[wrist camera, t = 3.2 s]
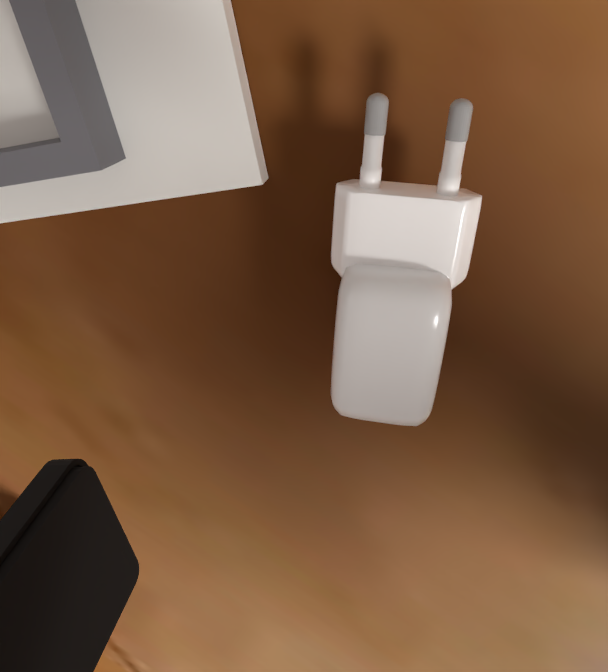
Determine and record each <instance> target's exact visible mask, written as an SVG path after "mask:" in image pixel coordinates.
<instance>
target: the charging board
mask: <svg viewBox="0 0 608 672" xmlns="http://www.w3.org/2000/svg"><path fill="white" fill-rule="evenodd" d="M267 179H268V174H267V169H266V164H265V159H264V155H263V150H262V145H261V141H260V136H259V131H258V126H257V122H256V117H255V112H254V108H253V103H252V98H251V93H250V89H249V84H248V79H247V75H246V70H245V65H244V60H243V56H242V51H241V46H240V42H239V37H238V32H237V27H236V23H235V18H234V13H233V9H232V4H231V0H0V223H6V222H13V221H19V220H26V219H33V218H40V217H47V216H53V215H60V214H67V213H74V212H81V211H87V210H94V209H101V208H108V207H115V206H121V205H128V204H135V203H142V202H149V201H155V200H162V199H169V198H176V197H183V196H189V195H196V194H203V193H210V192H217V191H224V190H230V189H237V188H244V187H251V186H258V185H263V184H264V183H265V182H266V181H267Z"/></svg>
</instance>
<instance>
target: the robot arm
mask: <svg viewBox="0 0 608 672" xmlns="http://www.w3.org/2000/svg"><path fill="white" fill-rule="evenodd" d="M138 575H139V563H138V560H137V558H136V556H135V554H134V552H133V550H132V548H131V545H130V543H129V541H128V539H127V537H126V535H125V533H124V531H123V529H122V527H121V524H120V522H119V520H118V518H117V516H116V514H115V512H114V510H113V508H112V506H111V503H110V501H109V499H108V497H107V495H106V493H105V491H104V489H103V487H102V485H101V482H100V480H99V478H98V476H97V474H96V472H95V470H94V469H93V468H92V467H89V466H88V465H87V463H86V462H85V461H84V460H82V459H59V460H51V461H49V462H47V463H46V464H45V465H44V466H43V468H42V469H41V470H40V471H39V473H38V474H37V475H36V476H35V478H34V479H33V480H32V481H31V483H30V484H29V485H28V486H27V488H26V489H25V490H24V491H23V493H22V494H21V495H20V496H19V498H18V499H17V500H16V501H15V503H14V504H13V505H12V506H11V508H10V509H9V510H8V511H7V513H6V514H5V515H4V516H3V518H2V519H1V520H0V672H93V671H94V669H95V667H96V665H97V663H98V661H99V659H100V657H101V655H102V653H103V650H104V648H105V646H106V644H107V642H108V640H109V638H110V636H111V634H112V632H113V630H114V628H115V626H116V623H117V621H118V619H119V617H120V615H121V613H122V611H123V609H124V607H125V605H126V603H127V601H128V598H129V596H130V594H131V592H132V590H133V588H134V586H135V584H136V582H137V579H138Z"/></svg>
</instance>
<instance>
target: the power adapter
mask: <svg viewBox="0 0 608 672" xmlns="http://www.w3.org/2000/svg"><path fill="white" fill-rule="evenodd" d="M388 107H389V100H388V98H387V96H386V95H384V94H382V93H374V94H372V95H370V96H369V97H368V99H367V102H366V114H365V125H364V134H365V136H364V148H363V159H362V166H361V170H360V180H359V179H351V180H346V181H342V182H338V183H337V184H336V190H335V201H334V216H333V231H332V246H331V263H332V265H333V268H334V269H335V270H336V271H337V273H338V274H339V275H340V276H341V278H342V279H341V283H340V287H339V292H338V301H337V310H336V321H335V333H334V347H333V360H332V376H331V398H332V403H333V406H334V408H335V410H336V411H337V412H338V413H339V414H340V415H342V416H346V417H351V418H355V419H361V420H367V421H374V422H381V423H388V424H396V425H405V426H418V425H420V424H421V423H423V422H425V420H426V419H427V418H428V416H429V415H430V412H431V410H432V408H433V404H434V399H435V395H436V390H437V386H438V381H439V376H440V370H441V365H442V360H443V355H444V349H445V344H446V339H447V333H448V327H449V321H450V314H451V308H452V289H453V288H455V287H456V286H457V285H459V284H460V283H461V282H463V280H464V279H465V278H466V276H467V273H468V270H469V265H470V260H471V255H472V250H473V245H474V240H475V235H476V230H477V225H478V220H479V215H480V210H481V203H482V195H480V194H478V193H475V192H473V191H470V190H468V189H465V188H459V187H460V181H461V169H462V163H463V157H464V152H465V146H466V141H467V140H468V135H469V129H470V123H471V118H472V112H473V104H472V103H471V101H469V100H468V99H465V98H459V99H456V100H454V101H453V102H452V103H451V105H450V109H449V116H448V122H447V128H446V135H445V139H446V141H445V148H444V154H443V161H442V167H441V172H440V173H439V179H438V185H427V184H416V183H404V182H392V181H381V174H382V167H381V164H382V154H383V145H384V135H385V134H386V126H387V116H388Z"/></svg>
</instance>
